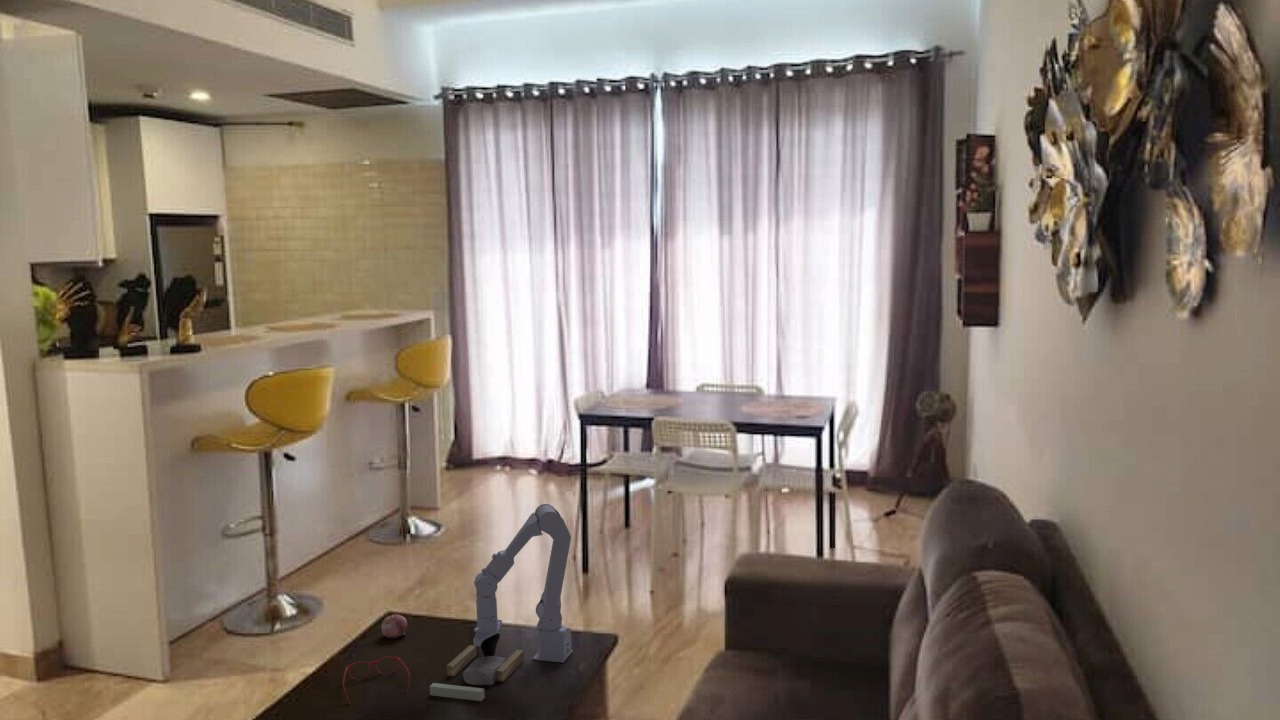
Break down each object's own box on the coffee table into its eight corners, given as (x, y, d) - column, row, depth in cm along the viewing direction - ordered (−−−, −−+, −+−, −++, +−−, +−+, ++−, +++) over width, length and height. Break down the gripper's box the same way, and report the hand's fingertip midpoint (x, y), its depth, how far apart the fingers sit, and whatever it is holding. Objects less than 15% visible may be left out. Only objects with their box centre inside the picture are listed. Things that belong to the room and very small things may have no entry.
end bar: (484, 697, 245) (484, 688, 245) (481, 701, 243) (480, 692, 243) (433, 691, 249) (433, 682, 249) (430, 695, 247) (429, 686, 247)
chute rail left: (476, 655, 271) (476, 645, 271) (453, 676, 258) (453, 666, 258) (470, 654, 272) (469, 645, 272) (447, 675, 259) (446, 665, 258)
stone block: (461, 690, 254) (495, 685, 251) (457, 673, 254) (491, 668, 251) (479, 672, 265) (511, 668, 263) (475, 656, 265) (507, 651, 263)
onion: (381, 644, 284) (373, 622, 284) (391, 636, 292) (384, 614, 292) (404, 636, 283) (396, 614, 283) (414, 629, 290) (407, 607, 291)
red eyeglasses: (404, 669, 264) (403, 653, 264) (412, 693, 249) (411, 676, 249) (341, 681, 258) (340, 664, 258) (345, 707, 243) (343, 688, 243)
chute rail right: (523, 660, 267) (523, 650, 267) (503, 681, 254) (502, 671, 253) (517, 659, 268) (516, 649, 267) (496, 681, 254) (496, 670, 254)
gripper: (485, 604, 272) (487, 648, 273) (462, 623, 258) (465, 669, 259) (507, 605, 269) (509, 650, 271) (485, 625, 256) (488, 672, 257)
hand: (489, 660), depth 265 cm, fingers closed
